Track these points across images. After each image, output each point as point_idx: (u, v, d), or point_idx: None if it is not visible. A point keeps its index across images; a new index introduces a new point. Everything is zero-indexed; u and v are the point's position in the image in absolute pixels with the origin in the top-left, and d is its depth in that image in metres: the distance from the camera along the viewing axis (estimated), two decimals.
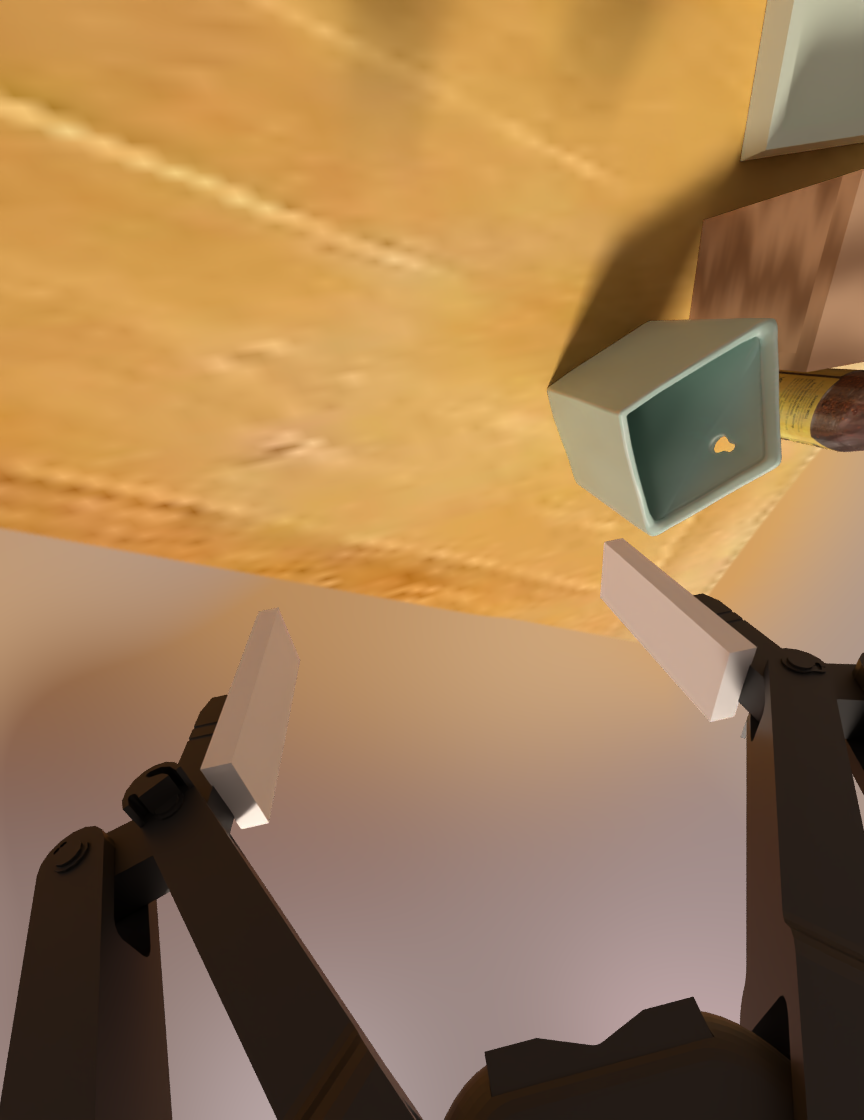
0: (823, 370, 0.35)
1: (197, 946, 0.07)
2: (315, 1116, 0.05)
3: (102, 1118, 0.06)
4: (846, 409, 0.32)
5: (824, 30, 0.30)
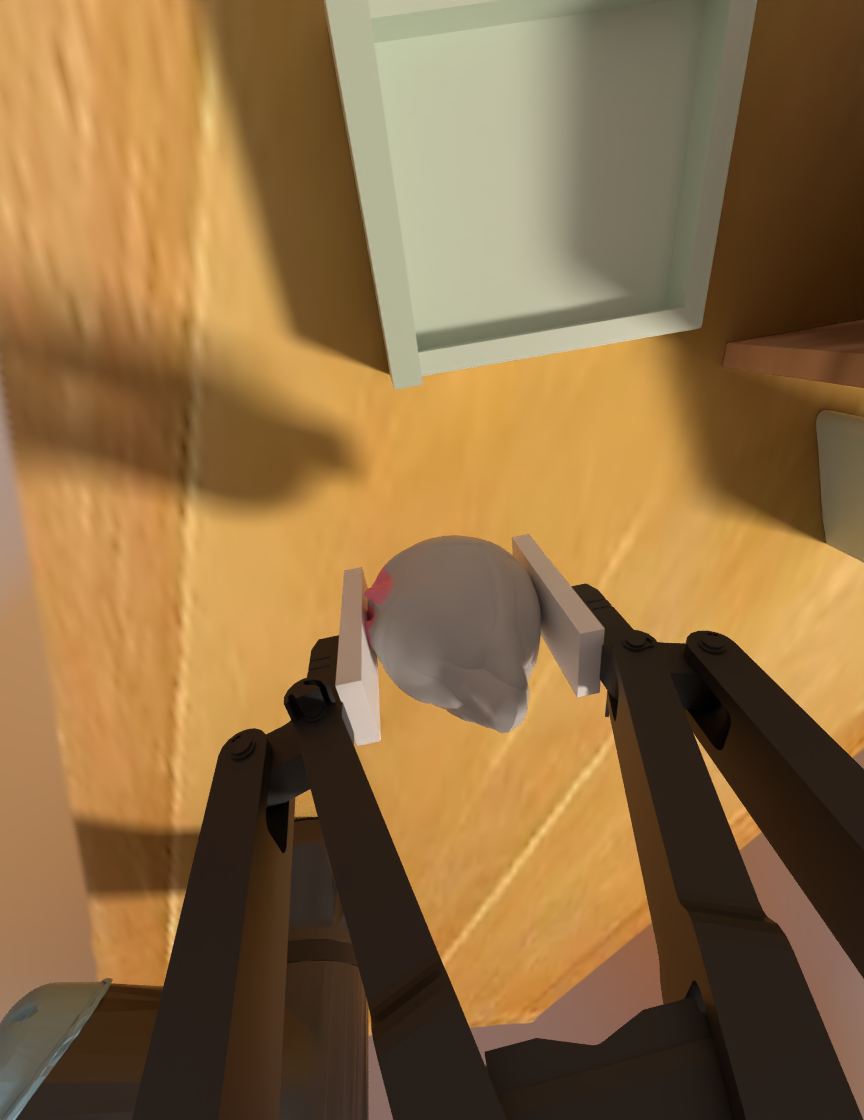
0: None
1: (323, 832, 0.09)
2: (398, 1011, 0.06)
3: (241, 978, 0.07)
4: None
5: (560, 246, 0.19)
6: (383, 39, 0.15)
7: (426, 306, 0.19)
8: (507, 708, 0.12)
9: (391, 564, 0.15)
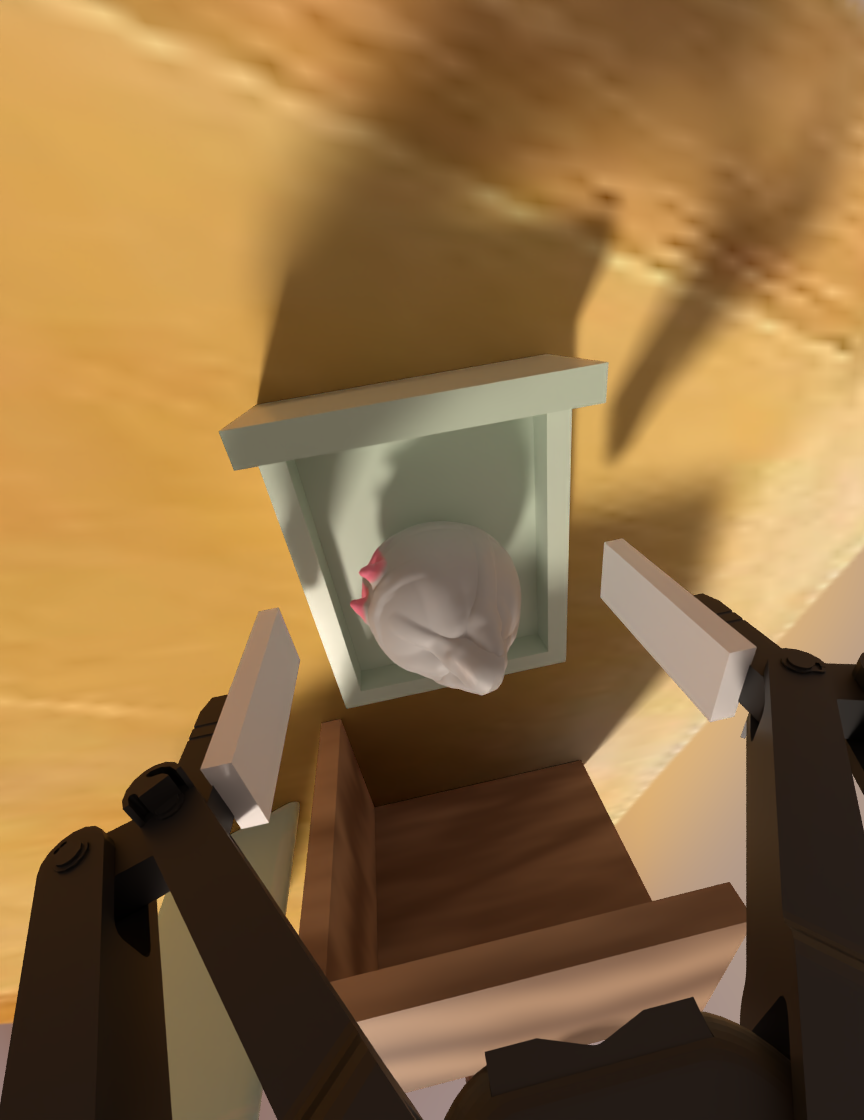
0: None
1: (197, 946, 0.07)
2: (315, 1116, 0.05)
3: (102, 1118, 0.06)
4: (467, 1080, 0.22)
5: None
6: None
7: (336, 453, 0.17)
8: (486, 672, 0.13)
9: (384, 546, 0.16)
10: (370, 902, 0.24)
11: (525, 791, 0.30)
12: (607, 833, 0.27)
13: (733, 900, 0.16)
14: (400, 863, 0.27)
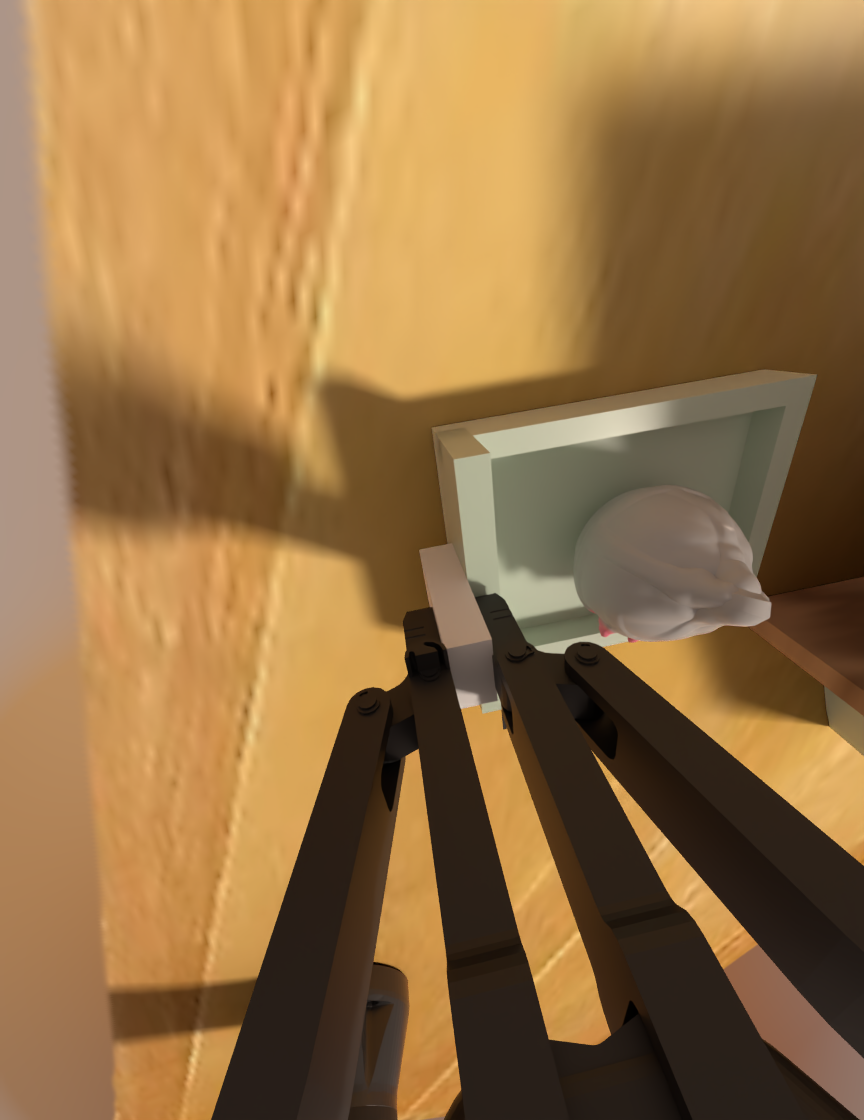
0: None
1: (424, 782, 0.09)
2: (473, 967, 0.06)
3: (346, 919, 0.07)
4: None
5: None
6: None
7: None
8: (741, 617, 0.13)
9: (586, 606, 0.19)
10: None
11: None
12: None
13: None
14: None
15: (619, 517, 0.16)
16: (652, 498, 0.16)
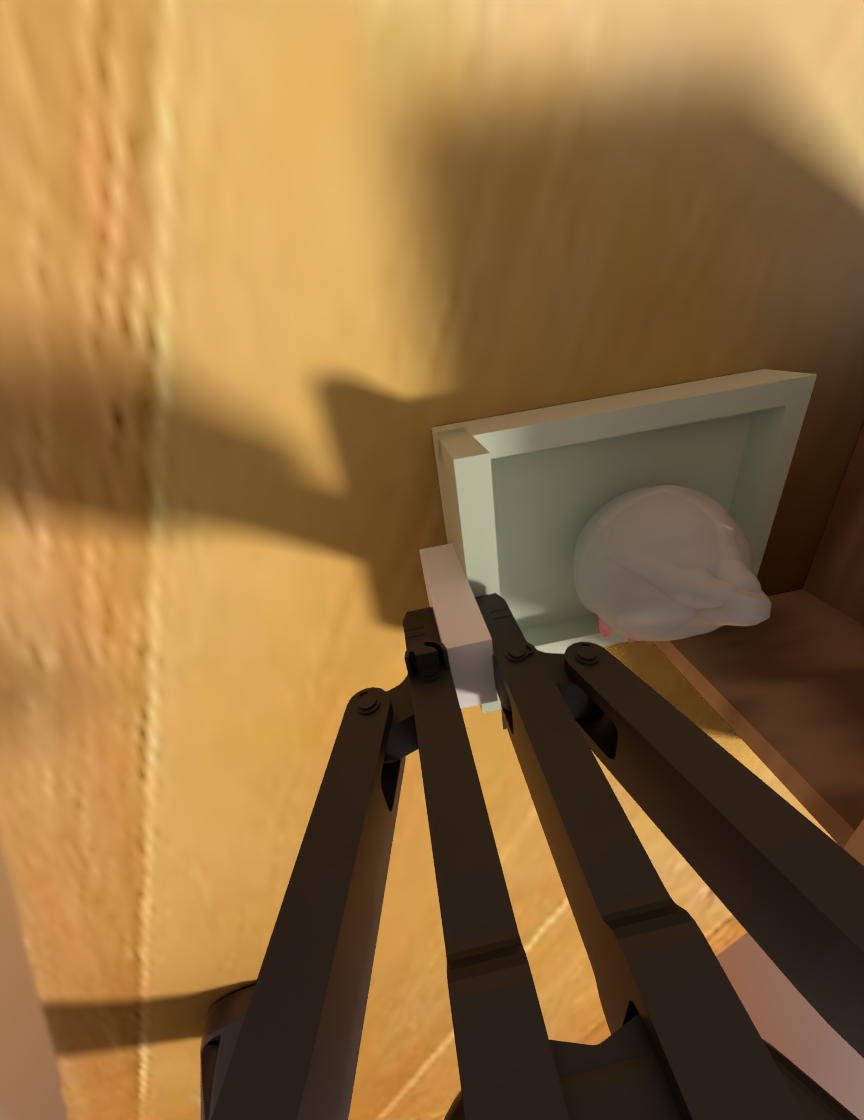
0: None
1: (424, 782, 0.09)
2: (473, 967, 0.06)
3: (346, 919, 0.07)
4: None
5: None
6: None
7: None
8: (741, 617, 0.13)
9: (586, 606, 0.19)
10: None
11: None
12: None
13: None
14: None
15: (619, 517, 0.16)
16: (652, 498, 0.16)
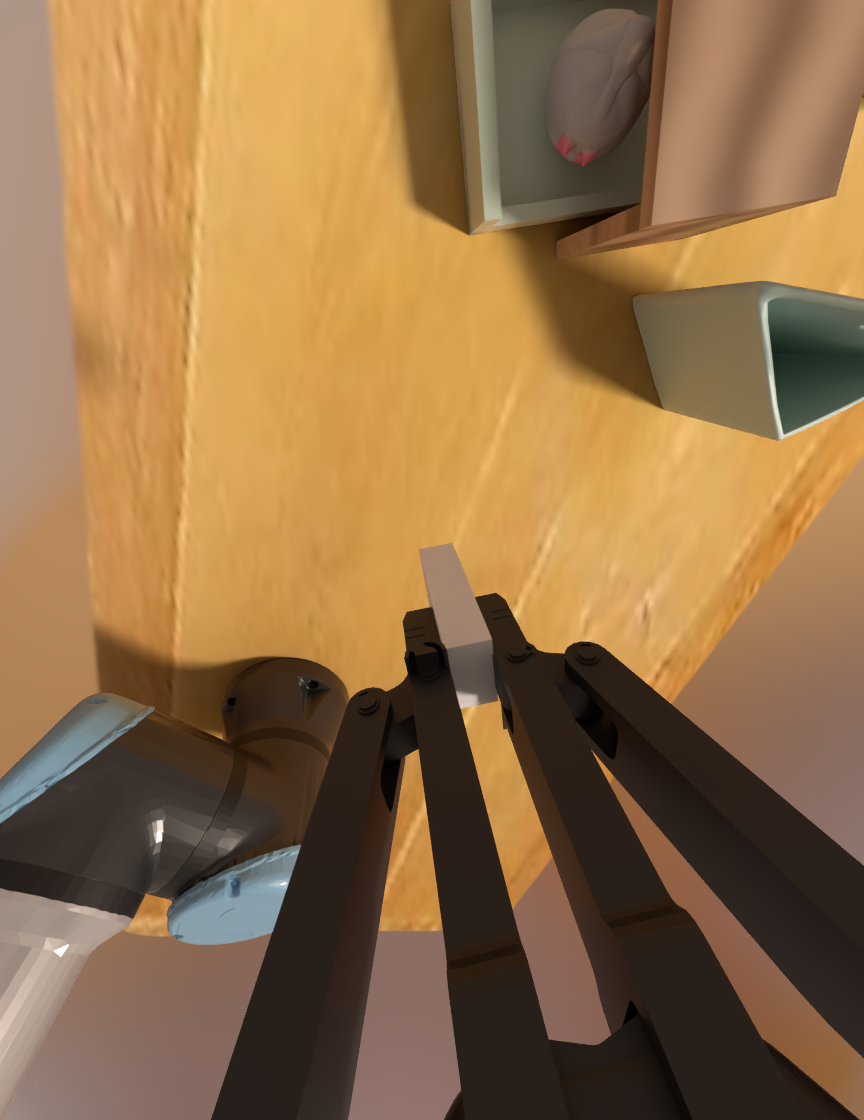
0: None
1: (423, 782, 0.09)
2: (473, 967, 0.06)
3: (346, 919, 0.07)
4: None
5: None
6: None
7: None
8: (636, 31, 0.22)
9: (553, 140, 0.28)
10: None
11: None
12: None
13: None
14: None
15: (570, 33, 0.25)
16: None
